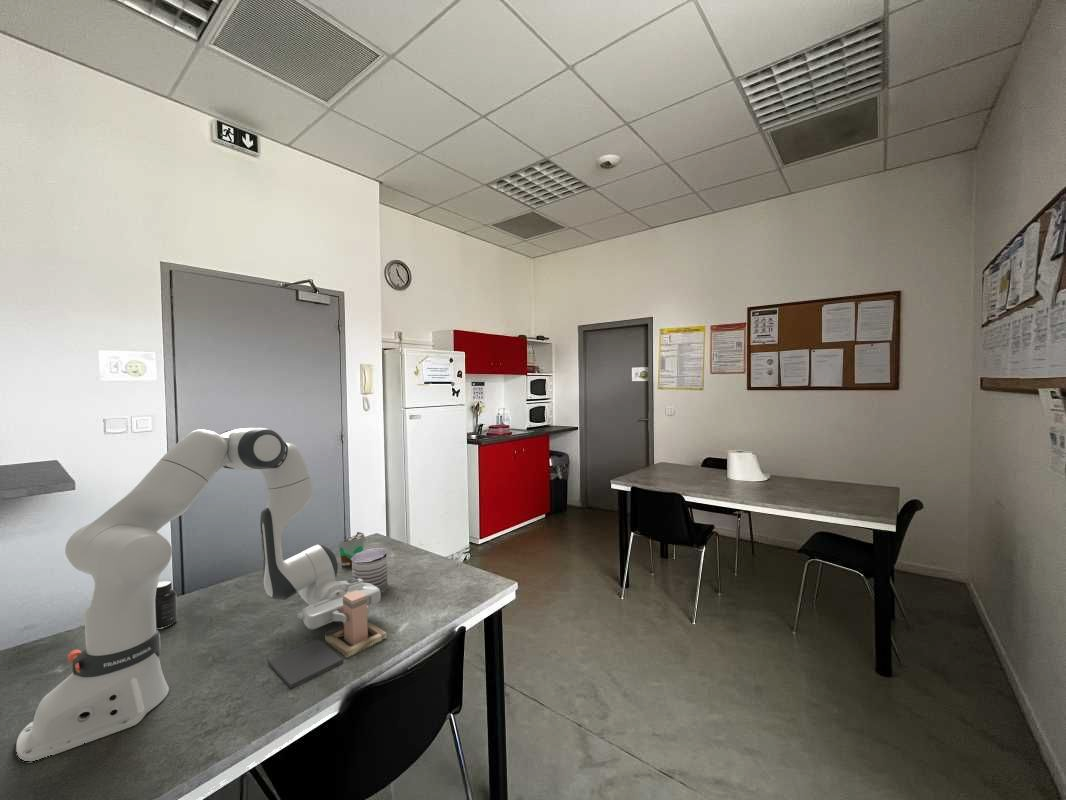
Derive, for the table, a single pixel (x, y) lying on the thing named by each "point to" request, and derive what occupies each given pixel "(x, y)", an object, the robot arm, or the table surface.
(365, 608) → the block
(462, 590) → the table surface
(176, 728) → the table surface
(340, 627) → the frame
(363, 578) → the can
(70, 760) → the table surface
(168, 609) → the supplement bottle
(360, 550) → the food container
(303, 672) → the mat
